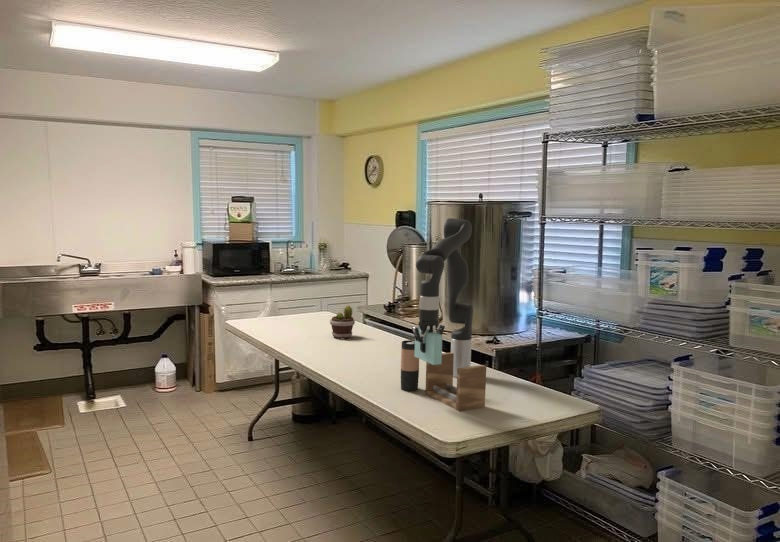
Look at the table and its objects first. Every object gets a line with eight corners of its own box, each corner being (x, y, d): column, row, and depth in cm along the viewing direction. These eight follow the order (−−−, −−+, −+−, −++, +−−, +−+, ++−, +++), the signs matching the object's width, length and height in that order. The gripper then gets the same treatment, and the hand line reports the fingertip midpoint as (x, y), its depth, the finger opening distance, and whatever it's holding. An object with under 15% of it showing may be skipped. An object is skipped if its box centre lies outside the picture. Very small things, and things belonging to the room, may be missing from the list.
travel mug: (403, 392, 242) (404, 344, 240) (397, 386, 250) (399, 340, 248) (420, 391, 245) (422, 343, 243) (415, 385, 252) (416, 339, 250)
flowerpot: (328, 339, 339) (328, 305, 337) (331, 334, 354) (332, 301, 352) (353, 340, 338) (353, 306, 336) (355, 335, 354) (356, 302, 352)
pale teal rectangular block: (414, 356, 231) (415, 328, 230) (422, 355, 233) (422, 328, 232) (433, 365, 219) (434, 335, 218) (441, 364, 221) (442, 335, 220)
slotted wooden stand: (425, 393, 241) (426, 355, 240) (449, 389, 247) (451, 352, 246) (459, 411, 220) (460, 369, 219) (484, 406, 226) (486, 366, 225)
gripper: (439, 305, 231) (438, 348, 232) (408, 307, 224) (406, 351, 226) (450, 308, 224) (448, 352, 226) (418, 310, 217) (416, 355, 219)
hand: (427, 351), depth 226 cm, fingers closed on pale teal rectangular block, 3 cm apart
